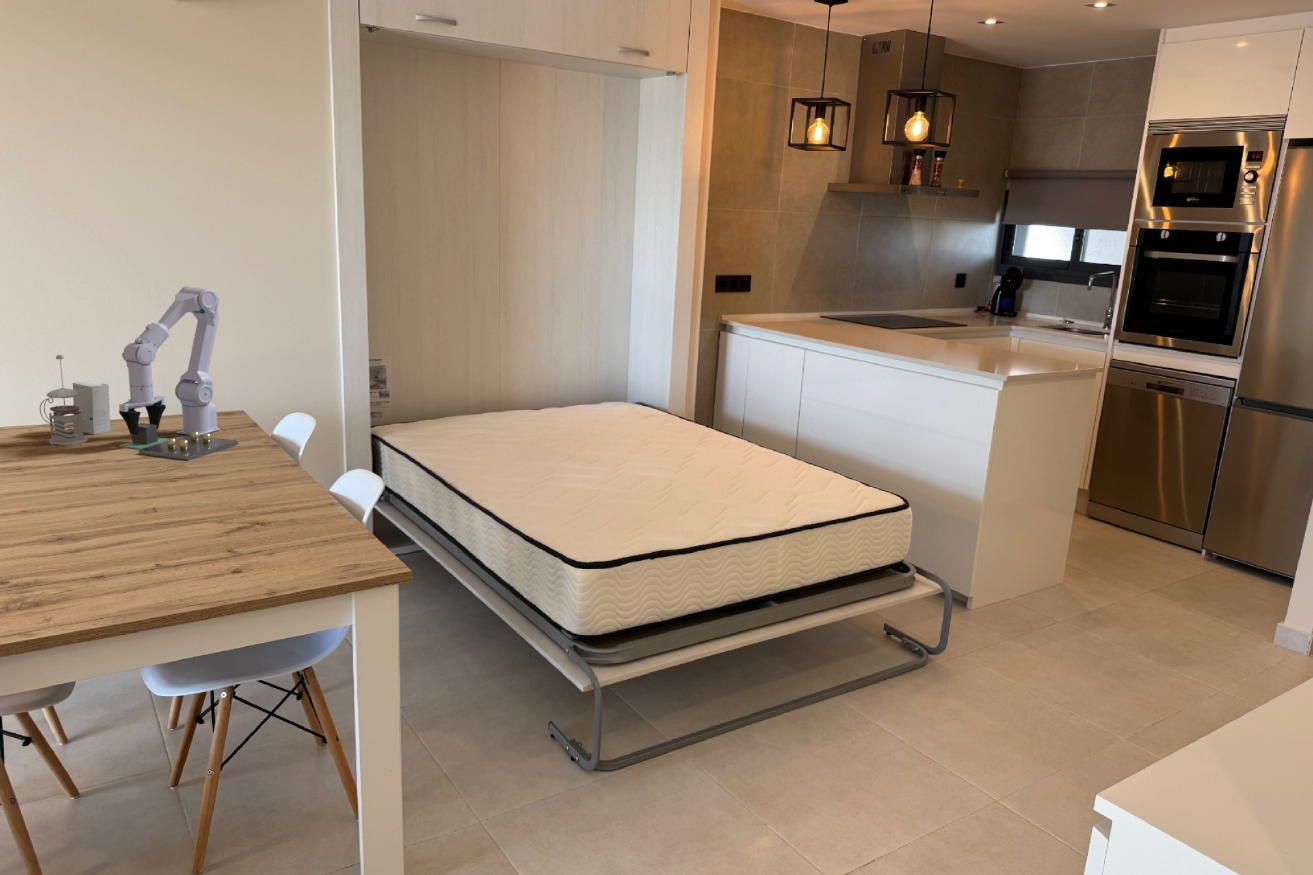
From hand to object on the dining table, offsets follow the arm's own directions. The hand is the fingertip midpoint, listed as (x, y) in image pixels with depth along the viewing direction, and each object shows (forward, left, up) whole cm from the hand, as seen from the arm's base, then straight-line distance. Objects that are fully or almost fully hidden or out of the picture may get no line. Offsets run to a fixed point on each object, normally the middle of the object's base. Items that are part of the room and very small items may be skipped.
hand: (144, 431), depth 259 cm
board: (0, 0, -4) cm, 4 cm away
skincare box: (-5, -23, -4) cm, 24 cm away
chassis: (0, +15, -4) cm, 15 cm away
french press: (+7, -21, -4) cm, 22 cm away
